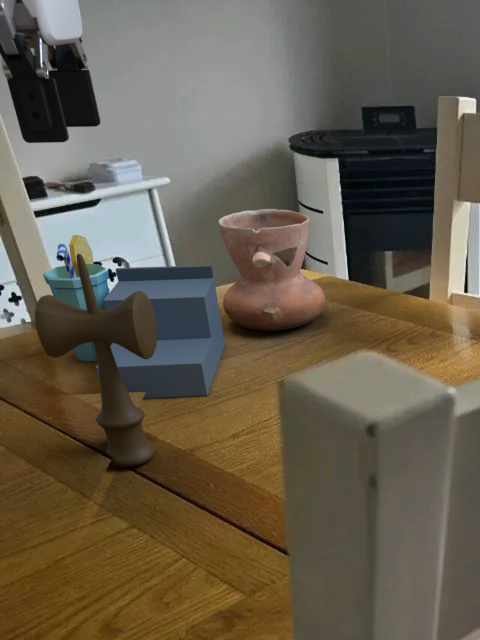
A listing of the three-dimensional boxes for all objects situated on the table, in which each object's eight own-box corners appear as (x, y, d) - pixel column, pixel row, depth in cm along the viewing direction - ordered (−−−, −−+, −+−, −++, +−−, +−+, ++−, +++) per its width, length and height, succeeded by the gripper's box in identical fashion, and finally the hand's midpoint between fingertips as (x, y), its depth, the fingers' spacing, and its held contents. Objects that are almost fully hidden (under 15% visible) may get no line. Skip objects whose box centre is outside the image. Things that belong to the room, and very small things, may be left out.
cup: (123, 372, 104) (93, 246, 96) (58, 378, 103) (21, 251, 94) (130, 337, 115) (103, 222, 107) (71, 342, 114) (39, 225, 105)
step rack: (104, 400, 97) (79, 310, 91) (135, 349, 112) (116, 267, 105) (207, 395, 98) (190, 305, 92) (225, 345, 113) (211, 264, 106)
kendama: (171, 472, 82) (123, 261, 70) (74, 474, 82) (9, 262, 70) (185, 446, 87) (143, 244, 75) (93, 448, 87) (36, 246, 75)
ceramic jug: (324, 340, 114) (313, 230, 105) (218, 343, 113) (198, 232, 105) (330, 302, 128) (321, 202, 120) (236, 305, 128) (221, 204, 119)
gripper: (-18, -139, 62) (48, 122, 72) (-124, -180, 48) (-24, 150, 58) (84, -138, 63) (136, 120, 73) (9, -179, 49) (86, 148, 59)
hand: (65, 133), depth 66 cm, fingers open, 9 cm apart
